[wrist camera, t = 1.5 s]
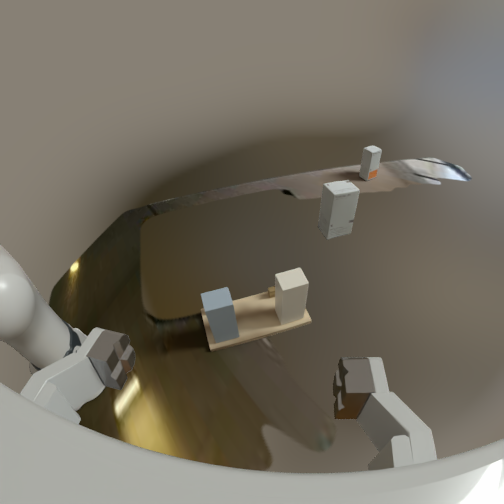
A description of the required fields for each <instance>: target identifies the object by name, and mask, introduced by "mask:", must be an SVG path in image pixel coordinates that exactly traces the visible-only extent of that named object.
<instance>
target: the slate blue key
mask: <svg viewBox="0 0 504 504" xmlns="http://www.w3.org/2000/svg"><path fill="white" fill-rule="evenodd" d="M201 296H202V301H203V305H204V309H205V313H206V316H207V319H208V322H209V325H210V328H211V330H212V333H213V336H214V339H215V342H216V343H219V342H223V341H226V340H230V339H234V338H238V337H240V336H239V331H238V326H237V321H236V316H235V311H234V306H233V302H232V299H231V296H230V292H229V289H228V287H225V288H222V289H218V290H214V291H210V292H206V293H202V294H201Z"/></svg>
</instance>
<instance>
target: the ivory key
mask: <svg viewBox="0 0 504 504" xmlns="http://www.w3.org/2000/svg"><path fill="white" fill-rule="evenodd" d="M308 285H309V283H308V281H307V279H306V277H305V275H304V273H303V271H302V270H301V268H297V269H293V270H290V271H286V272H282V273H278V274H276V275H275V311H276V313H277V316H278V318H279V321H280V323H281V325H283V324H286V323H289V322H293V321H296V320H299V319H302V318H304V312H305V305H306V299H307V292H308Z"/></svg>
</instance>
